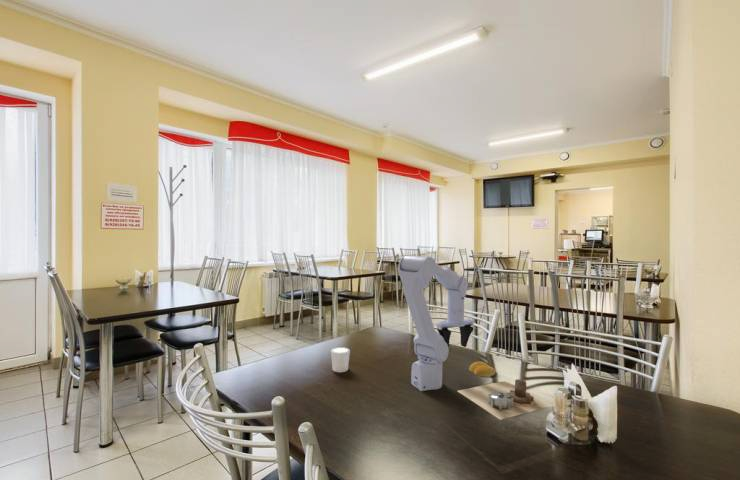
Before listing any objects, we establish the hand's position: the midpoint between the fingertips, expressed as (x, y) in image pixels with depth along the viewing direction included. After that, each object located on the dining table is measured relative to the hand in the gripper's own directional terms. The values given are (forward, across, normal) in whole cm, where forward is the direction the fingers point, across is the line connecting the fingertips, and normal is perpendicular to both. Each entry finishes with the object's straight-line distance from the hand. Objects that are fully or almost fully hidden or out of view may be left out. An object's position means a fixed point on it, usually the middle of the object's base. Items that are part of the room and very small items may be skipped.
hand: (454, 347), depth 124 cm
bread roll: (+10, +9, -4) cm, 14 cm away
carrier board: (+9, +1, -22) cm, 24 cm away
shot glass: (+10, -36, +19) cm, 42 cm away
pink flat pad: (+8, +4, -25) cm, 27 cm away
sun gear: (+8, -3, -25) cm, 27 cm away
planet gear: (+8, +4, -25) cm, 27 cm away
